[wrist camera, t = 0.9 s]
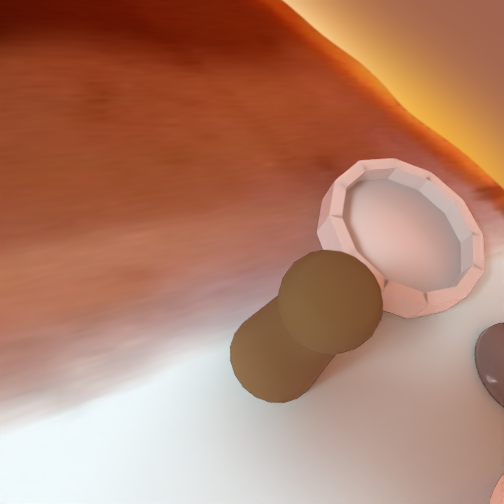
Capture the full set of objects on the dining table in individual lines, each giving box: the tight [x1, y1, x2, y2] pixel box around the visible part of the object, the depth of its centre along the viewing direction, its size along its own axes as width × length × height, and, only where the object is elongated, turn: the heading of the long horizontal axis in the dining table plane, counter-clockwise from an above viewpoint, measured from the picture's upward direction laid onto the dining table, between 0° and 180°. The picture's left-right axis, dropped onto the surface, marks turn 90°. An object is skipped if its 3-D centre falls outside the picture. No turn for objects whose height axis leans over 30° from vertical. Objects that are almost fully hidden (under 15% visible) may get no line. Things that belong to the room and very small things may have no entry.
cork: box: [230, 250, 383, 403], centre depth 27 cm, size 6×6×11 cm
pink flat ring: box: [317, 158, 485, 319], centre depth 38 cm, size 13×13×2 cm
